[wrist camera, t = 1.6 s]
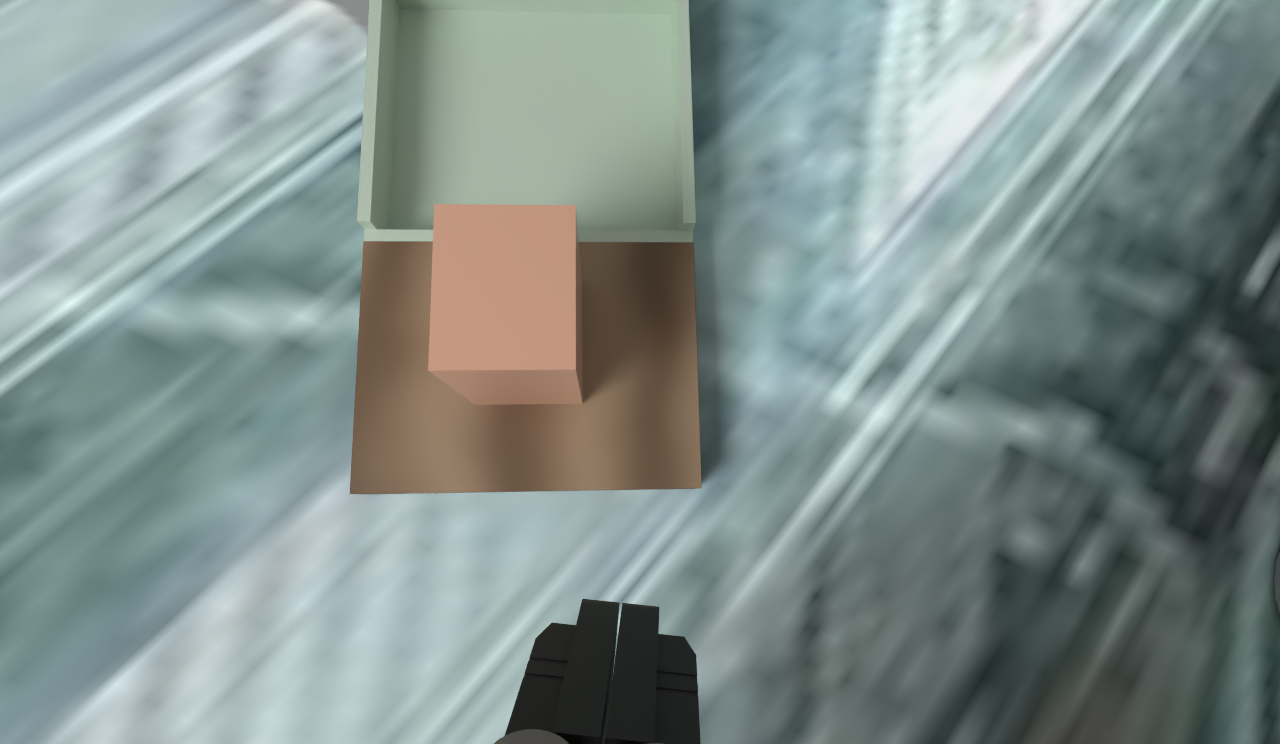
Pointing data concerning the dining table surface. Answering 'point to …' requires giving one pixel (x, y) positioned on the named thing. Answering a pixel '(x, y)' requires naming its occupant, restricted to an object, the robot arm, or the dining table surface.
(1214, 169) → the dining table surface
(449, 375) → the salmon-coloured block
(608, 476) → the board
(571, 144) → the tray
